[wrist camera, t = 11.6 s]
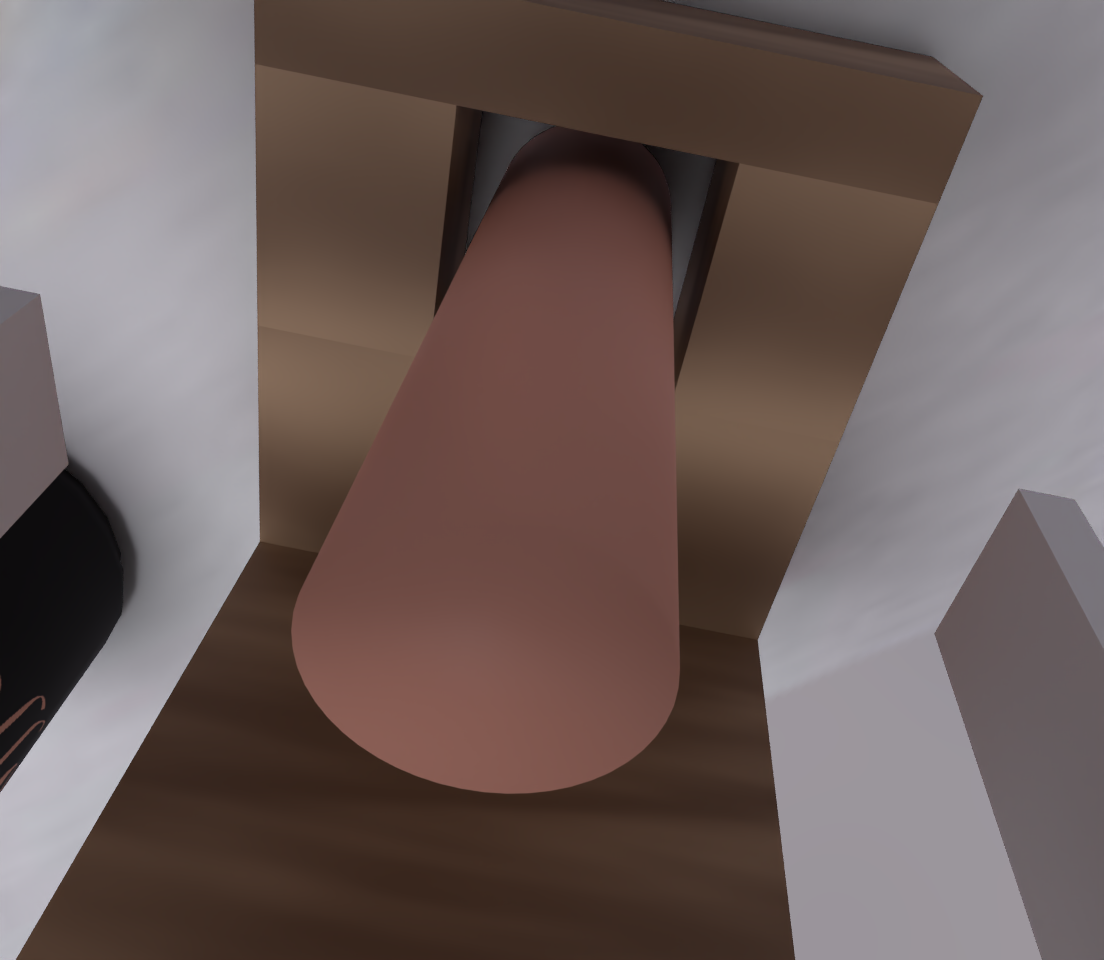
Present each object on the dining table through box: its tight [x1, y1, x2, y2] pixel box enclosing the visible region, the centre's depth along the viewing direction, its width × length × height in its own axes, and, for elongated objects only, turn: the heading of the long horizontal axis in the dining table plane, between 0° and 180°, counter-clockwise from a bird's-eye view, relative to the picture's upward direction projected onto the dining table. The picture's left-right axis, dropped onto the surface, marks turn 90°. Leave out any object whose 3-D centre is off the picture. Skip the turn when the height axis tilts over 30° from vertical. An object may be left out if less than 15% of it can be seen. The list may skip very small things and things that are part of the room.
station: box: [16, 0, 983, 960], centre depth 17 cm, size 16×15×19 cm
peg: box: [291, 126, 680, 794], centre depth 17 cm, size 4×4×16 cm
